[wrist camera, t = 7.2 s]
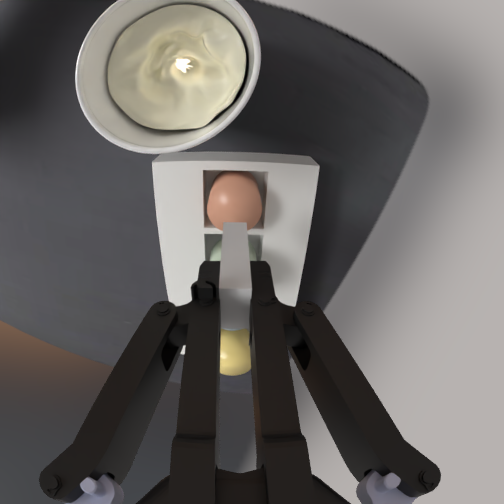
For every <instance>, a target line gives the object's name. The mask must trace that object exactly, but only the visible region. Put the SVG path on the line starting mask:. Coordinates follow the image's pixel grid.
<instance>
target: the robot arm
mask: <svg viewBox="0 0 504 504" xmlns="http://www.w3.org/2000/svg"><path fill="white" fill-rule="evenodd" d="M191 296H192V301H190V302H189V303H187V304H184V305H181V306H176V305H175V304H173V303H172V302H169V301H160V302H157V303H155V304H154V305H153V306H152V307H151V308H150V310H149V311H148V313H147V314H146V316H145V317H144V319H143V321H142V322H141V324H140V325H139V327H138V329H137V330H136V332H135V334H134V335H133V337H132V338H131V340H130V342H129V343H128V345H127V347H126V348H125V350H124V352H123V353H122V355H121V357H120V358H119V360H118V362H117V364H116V365H115V367H114V369H113V371H112V372H111V374H110V376H109V377H108V379H107V381H106V383H105V384H104V386H103V388H102V390H101V391H100V393H99V395H98V397H97V399H96V401H95V402H94V404H93V406H92V408H91V410H90V411H89V413H88V416H87V417H86V419H85V421H84V423H83V425H82V427H81V428H80V430H79V432H78V434H77V436H76V438H75V440H74V442H73V444H72V445H70V446H69V447H68V448H67V449H66V450H65V451H64V452H63V453H61V454H60V455H59V456H58V457H57V458H56V459H55V460H54V461H53V462H52V463H50V464H49V465H48V466H47V467H46V468H45V469H44V470H43V471H42V472H41V474H40V478H39V482H40V486H41V488H42V490H43V492H44V493H45V494H46V495H47V496H49V497H50V498H53V499H55V500H58V501H61V502H63V503H65V504H122V502H123V500H124V493H123V490H122V488H121V487H120V486H119V485H120V484H121V483H122V481H123V480H124V479H125V477H126V476H127V474H128V472H129V470H130V468H131V466H132V463H133V461H134V459H135V456H136V454H137V451H138V449H139V447H140V444H141V442H142V440H143V437H144V435H145V433H146V430H147V428H148V426H149V423H150V421H151V419H152V416H153V414H154V412H155V409H156V407H157V405H158V403H159V400H160V398H161V396H162V393H163V391H164V389H165V387H166V384H167V382H168V380H169V378H170V375H171V373H172V371H173V369H174V366H175V364H176V362H177V360H178V357H179V355H180V353H181V351H182V349H183V346H184V345H186V347H185V354H184V362H183V371H182V380H181V389H180V398H179V408H178V420H177V430H176V435H175V437H174V438H173V441H172V451H171V464H170V475H169V476H167V477H165V478H164V479H162V480H161V481H160V482H159V483H158V484H157V485H155V487H153V488H152V489H151V490H150V491H149V492H148V493H147V494H146V495H145V496H144V497H143V498H142V499H141V500H139V501H138V502H137V503H136V504H351V503H349V502H348V501H347V500H345V499H344V498H343V497H342V496H340V495H339V494H338V493H337V492H335V491H334V490H333V489H332V488H330V487H329V486H328V485H327V484H325V483H324V482H323V481H322V480H321V479H319V478H318V477H316V476H315V475H312V473H311V467H310V460H309V454H308V448H307V442H306V439H305V437H304V436H303V435H302V433H301V430H300V424H299V417H298V411H297V405H296V399H295V392H294V386H293V380H292V374H291V368H290V362H289V356H288V350H289V352H290V354H291V356H292V358H293V360H294V362H295V363H296V365H297V368H298V370H299V372H300V374H301V376H302V378H303V380H304V382H305V384H306V386H307V388H308V390H309V392H310V394H311V396H312V398H313V400H314V402H315V404H316V406H317V408H318V410H319V412H320V414H321V416H322V418H323V420H324V422H325V424H326V426H327V428H328V430H329V432H330V434H331V436H332V438H333V440H334V442H335V444H336V445H337V448H338V450H339V452H340V454H341V456H342V458H343V459H344V461H345V463H346V465H347V467H348V468H349V470H350V472H351V473H352V474H353V476H354V477H355V478H356V479H357V481H358V482H359V484H358V486H357V490H356V493H357V497H358V498H359V500H360V502H361V503H362V504H412V502H413V501H414V500H415V499H416V498H417V497H419V496H421V495H424V494H426V493H429V492H431V491H433V490H434V489H435V488H436V487H437V486H438V484H439V482H440V478H441V473H440V470H439V468H438V467H437V465H436V464H434V463H433V462H432V461H430V460H429V459H428V458H427V457H425V456H424V455H423V454H421V453H420V452H419V451H418V450H416V449H415V448H414V447H412V446H411V445H410V444H409V443H408V442H406V441H405V440H404V439H403V437H402V435H401V434H400V432H399V430H398V429H397V428H396V426H395V424H394V422H393V421H392V419H391V417H390V416H389V414H388V413H387V411H386V409H385V408H384V406H383V404H382V403H381V401H380V400H379V398H378V396H377V395H376V393H375V392H374V390H373V388H372V387H371V385H370V384H369V382H368V381H367V379H366V377H365V376H364V374H363V373H362V371H361V370H360V368H359V366H358V365H357V363H356V362H355V360H354V359H353V357H352V356H351V354H350V353H349V351H348V349H347V348H346V346H345V345H344V343H343V342H342V340H341V339H340V337H339V336H338V334H337V333H336V331H335V330H334V328H333V327H332V325H331V324H330V322H329V320H328V319H327V318H326V316H325V314H324V313H323V311H322V310H321V308H320V307H319V306H318V305H317V304H315V303H313V302H308V301H303V302H300V303H298V304H297V305H296V306H295V307H294V306H289V305H286V304H283V303H281V302H280V301H279V300H278V298H277V297H276V295H275V290H274V285H273V279H272V273H271V268H270V265H269V264H268V263H267V262H266V261H250V258H249V246H248V234H247V223H246V222H223V234H222V248H221V261H204V262H203V263H202V264H201V265H200V267H199V273H198V280H197V281H195V282H194V283H193V284H192V286H191ZM249 327H250V333H249V346H250V358H251V375H252V391H253V407H254V421H255V422H254V423H255V438H256V454H257V461H256V462H257V463H256V467H257V470H253V471H249V472H245V473H234V472H230V471H225V470H221V469H220V444H219V441H220V440H219V439H220V436H219V435H220V433H219V431H220V428H219V427H220V423H219V422H220V420H219V419H220V416H219V415H220V414H219V413H220V411H219V410H220V348H221V328H224V329H249ZM287 347H288V350H287Z"/></svg>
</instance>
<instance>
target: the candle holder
mask: <svg viewBox="0 0 504 504" xmlns="http://www.w3.org/2000/svg"><path fill="white" fill-rule="evenodd" d="M260 65H261V47H260V41H259V37H258V33H257V30H256V28H255V25H254V23H253V21H252V20H251V18H250V16H249V15H248V13H247V12H246V11H245V9H244V8H243V7H242V6H241V5H240V4H239V3H238V2H237V1H236V0H118V1H116V2H115V3H114V4H112V5H111V6H110V7H109V8H108V9H107V10H106V11H105V12H104V13H103V14H102V15H101V16H100V17H99V18H98V19H97V20H96V22H95V23H94V24H93V26H92V27H91V29H90V30H89V32H88V34H87V35H86V37H85V39H84V41H83V44H82V46H81V49H80V52H79V55H78V59H77V64H76V72H75V83H76V92H77V96H78V100H79V103H80V106H81V108H82V110H83V112H84V114H85V116H86V118H87V119H88V121H89V122H90V124H91V125H92V126H93V127H94V128H95V129H96V130H97V131H98V132H99V133H100V134H101V135H102V136H103V137H104V138H106V139H107V140H109V141H110V142H112V143H114V144H116V145H118V146H120V147H122V148H125V149H127V150H131V151H134V152H139V153H146V154H166V153H173V152H178V151H182V150H186V149H189V148H192V147H194V146H197V145H199V144H201V143H203V142H205V141H207V140H209V139H210V138H212V137H214V136H215V135H217V134H218V133H219V132H221V131H222V130H223V129H225V128H226V127H227V126H228V125H229V124H230V123H231V122H232V121H233V120H234V119H235V118H236V117H237V116H238V115H239V113H240V112H241V111H242V110H243V108H244V107H245V105H246V104H247V102H248V100H249V99H250V97H251V95H252V93H253V91H254V88H255V86H256V83H257V80H258V76H259V71H260Z"/></svg>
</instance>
